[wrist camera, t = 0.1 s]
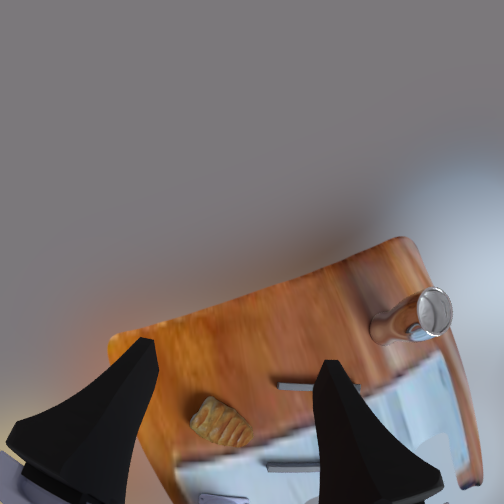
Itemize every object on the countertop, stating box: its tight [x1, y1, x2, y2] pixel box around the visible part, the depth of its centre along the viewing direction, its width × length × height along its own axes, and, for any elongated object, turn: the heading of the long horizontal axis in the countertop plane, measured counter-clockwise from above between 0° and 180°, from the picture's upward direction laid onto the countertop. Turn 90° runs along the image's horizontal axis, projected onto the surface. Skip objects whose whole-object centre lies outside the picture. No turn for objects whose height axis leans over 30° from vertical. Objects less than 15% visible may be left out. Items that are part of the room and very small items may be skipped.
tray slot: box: [267, 382, 361, 473], centre depth 36 cm, size 15×13×2 cm
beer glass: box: [370, 287, 453, 346], centre depth 36 cm, size 7×7×15 cm
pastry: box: [190, 396, 253, 447], centre depth 35 cm, size 9×7×4 cm
